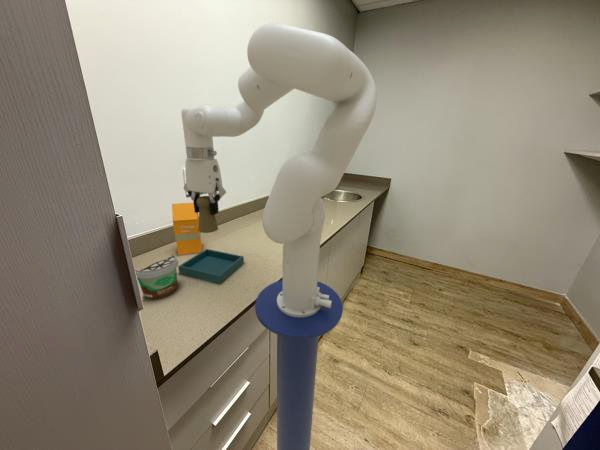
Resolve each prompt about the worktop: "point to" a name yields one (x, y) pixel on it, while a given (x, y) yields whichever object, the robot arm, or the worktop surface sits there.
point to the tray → (211, 265)
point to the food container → (159, 278)
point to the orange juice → (186, 228)
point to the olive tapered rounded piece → (206, 216)
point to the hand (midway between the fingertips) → (206, 212)
